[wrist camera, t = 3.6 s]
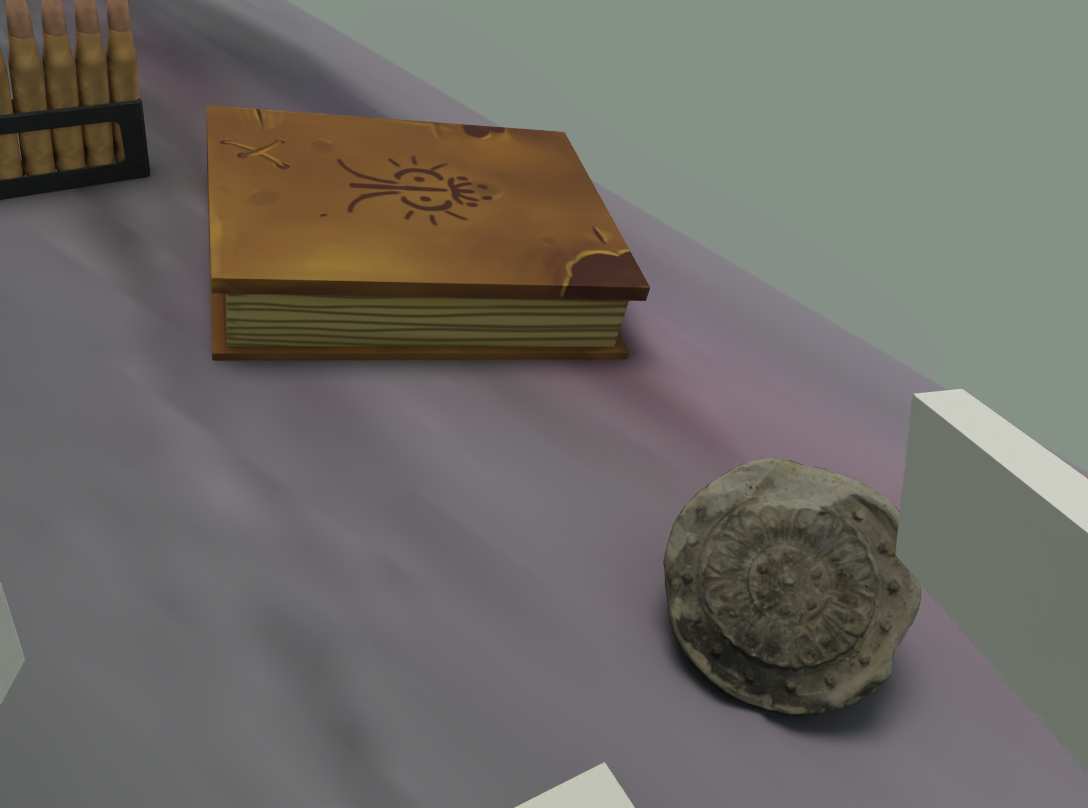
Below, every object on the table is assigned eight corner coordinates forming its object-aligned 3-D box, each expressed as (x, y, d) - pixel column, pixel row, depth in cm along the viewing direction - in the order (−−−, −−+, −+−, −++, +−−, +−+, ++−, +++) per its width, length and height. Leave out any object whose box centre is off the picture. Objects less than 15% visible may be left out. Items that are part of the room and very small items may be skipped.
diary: (544, 200, 72) (562, 126, 68) (623, 367, 58) (651, 287, 55) (206, 180, 64) (206, 95, 60) (211, 366, 51) (211, 274, 47)
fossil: (655, 712, 40) (703, 474, 38) (622, 614, 49) (660, 417, 47) (913, 742, 41) (974, 512, 39) (835, 641, 50) (881, 450, 48)
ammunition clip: (138, 162, 63) (126, -31, 55) (150, 176, 62) (140, -18, 55) (-48, 189, 57) (-91, -24, 49) (-38, 205, 56) (-80, -9, 48)
